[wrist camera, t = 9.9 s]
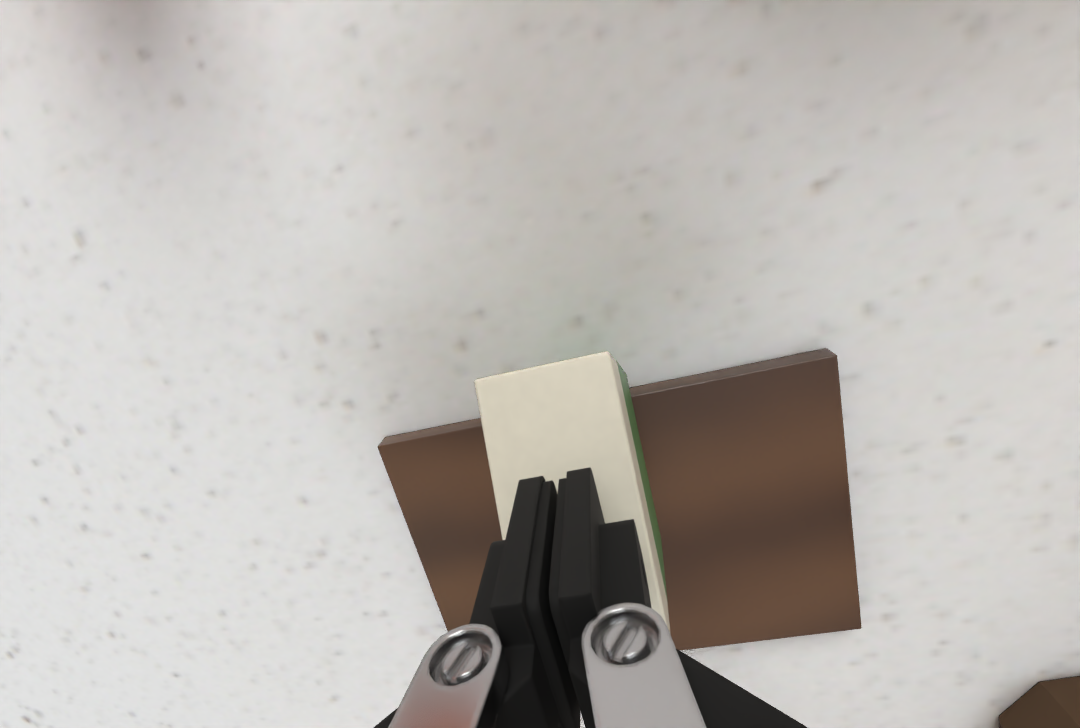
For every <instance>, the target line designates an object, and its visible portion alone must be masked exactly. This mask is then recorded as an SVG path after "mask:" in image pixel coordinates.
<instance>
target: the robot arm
mask: <svg viewBox="0 0 1080 728" xmlns="http://www.w3.org/2000/svg"><path fill="white" fill-rule="evenodd" d="M580 710H581V714H582V717H583V720H584V724H585V727H586V728H807V727H806V726H804V725H803V724H801V723H799V722H798V721H796V720H794V719H793V718H791V717H789V716H788V715H786V714H784V713H783V712H781V711H779V710H778V709H776V708H774V707H773V706H771V705H769V704H768V703H766V702H764V701H763V700H761V699H759V698H758V697H756V696H754V695H753V694H751V693H749V692H748V691H746V690H744V689H743V688H741V687H739V686H738V685H736V684H734V683H733V682H731V681H729V680H728V679H726V678H724V677H723V676H721V675H719V674H718V673H716V672H714V671H713V670H711V669H709V668H708V667H706V666H704V665H703V664H701V663H699V662H698V661H696V660H694V659H693V658H691V657H689V656H688V655H686V654H684V653H683V652H681V651H679V650H678V649H676V648H675V645H674V642H673V640H672V637H671V635H670V632H669V629H668V627H667V624H666V623H665V621H664V620H663V618H662V616H661V615H660V614H658V613H657V612H656V611H655V610H653V609H652V607H651V601H650V594H649V588H648V582H647V576H646V571H645V566H644V561H643V556H642V551H641V547H640V542H639V538H638V534H637V529H636V525H635V522H634V519H630V520H624V521H618V522H612V523H605V521H604V517H603V513H602V509H601V505H600V501H599V496H598V492H597V488H596V484H595V480H594V476H593V473H592V469H591V467H589V468H583V469H577V470H572V471H567V475H566V478H563V479H559V483H558V494H557V491H556V487H555V484H554V482H553V480H551V481H545V478H544V477H543V476H538V477H533V478H527V479H521V480H519V482H518V486H517V491H516V495H515V499H514V504H513V508H512V513H511V517H510V521H509V526H508V530H507V534H506V539H505V540H500V541H494V542H492V543H491V545H490V548H489V552H488V555H487V559H486V563H485V567H484V570H483V574H482V578H481V582H480V585H479V589H478V593H477V597H476V600H475V604H474V608H473V612H472V615H471V619H470V623H469V624H468V625H463V626H460V627H457V628H455V629H452V630H450V631H449V632H447V633H446V634H444V635H442V636H441V637H440V638H439V639H438V640H437V641H435V642H434V643H433V644H432V645H431V647H430V648H429V649H428V651H427V652H426V654H425V655H424V657H423V659H422V661H421V663H420V665H419V667H418V669H417V671H416V673H415V675H414V677H413V679H412V681H411V683H410V685H409V687H408V689H407V691H406V693H405V695H404V697H403V699H402V701H401V703H400V705H399V707H398V708H397V709H396V710H395V711H393V712H392V713H391V714H390V715H389V716H387V717H386V718H385V719H384V720H382V721H381V722H380V723H379V724H378V725H376V726H375V727H374V728H580Z"/></svg>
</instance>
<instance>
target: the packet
mask: <svg viewBox="0 0 1080 728" xmlns="http://www.w3.org/2000/svg"><path fill="white" fill-rule="evenodd" d="M475 389H476V394H477V400H478V405H479V411H480V416H481V422H482V428H483V433H484V439H485V444H486V450H487V456H488V461H489V467H490V472H491V478H492V483H493V489H494V495H495V500H496V506H497V511H498V517H499V522H500V528H501V534H502V539H503V540H505V539H506V534H507V530H508V526H509V521H510V517H511V513H512V508H513V504H514V499H515V495H516V491H517V486H518V482H519V480H521V479H527V478H533V477H538V476H543V477H544V478H545V481H551V480H553V482H554V484H555V487H556V491H557V494H558V483H559V479H563V478H566V475H567V471H572V470H577V469H583V468H589V467H591V469H592V473H593V476H594V480H595V484H596V488H597V492H598V496H599V501H600V505H601V509H602V513H603V517H604V521H605V523H612V522H618V521H624V520H630V519H634V522H635V525H636V529H637V534H638V538H639V542H640V547H641V551H642V556H643V561H644V566H645V571H646V576H647V582H648V588H649V594H650V601H651V607H652V609H653V610H655V611H656V612H657V613H658V614H660V615H661V616H662V618H663V620H664V621H665V623H666V624H667V627H668V629H669V632H670V624H669V614H668V604H667V592H666V582H665V572H664V561H663V551H662V541H661V535H660V531H659V526H658V521H657V517H656V512H655V507H654V502H653V498H652V493H651V488H650V484H649V479H648V474H647V469H646V465H645V460H644V455H643V451H642V446H641V441H640V436H639V432H638V427H637V422H636V417H635V413H634V408H633V403H632V399H631V394H630V389H629V384H628V380H627V375H626V373H625V372H624V371H623V369H622V368H621V366H620V365H619V364H618V362H617V361H616V360H615V359H614V358H613V357H612V355H611V354H610V353H609V352H608V351H605V352H600V353H595V354H591V355H586V356H581V357H577V358H572V359H567V360H563V361H558V362H553V363H549V364H544V365H539V366H535V367H530V368H525V369H521V370H516V371H511V372H507V373H502V374H498V375H493V376H488V377H484V378H479V379H476V380H475ZM670 635H671V634H670Z"/></svg>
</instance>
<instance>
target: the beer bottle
mask: <svg viewBox="0 0 1080 728" xmlns="http://www.w3.org/2000/svg"><path fill="white" fill-rule="evenodd" d="M999 722H1000V728H1080V676H1077V677H1070V678H1063V679H1056V680H1049V681H1042V682H1038V683H1037V684H1036V685H1035V686H1034V687H1033V688H1031V689H1030V690H1029V691H1028V692H1027V693H1025V694H1024V695H1023V696H1022V697H1021V698H1020V699H1018V700H1017V701H1016V702H1015V703H1014V704H1013V705H1011V706H1010V707H1009V708H1008V709H1007V710H1005V711H1004V712H1003V713H1002V714H1001V715H1000V716H999Z"/></svg>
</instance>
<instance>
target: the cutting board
mask: <svg viewBox="0 0 1080 728" xmlns="http://www.w3.org/2000/svg"><path fill="white" fill-rule="evenodd" d="M629 389H630V394H631V399H632V403H633V408H634V413H635V417H636V422H637V427H638V432H639V436H640V441H641V446H642V451H643V455H644V460H645V465H646V469H647V474H648V479H649V484H650V488H651V493H652V498H653V502H654V507H655V512H656V517H657V521H658V526H659V531H660V535H661V541H662V551H663V561H664V572H665V582H666V592H667V604H668V614H669V624H670V634H671V637H672V640H673V642H674V645H675V648H676V649H678V650H687V649H696V648H704V647H712V646H721V645H729V644H737V643H746V642H754V641H762V640H770V639H779V638H787V637H795V636H804V635H812V634H820V633H829V632H837V631H845V630H853V629H861V618H860V607H859V595H858V584H857V573H856V562H855V551H854V540H853V529H852V517H851V506H850V495H849V484H848V473H847V462H846V451H845V439H844V428H843V417H842V406H841V395H840V384H839V373H838V362H837V355H836V354H834V353H833V352H831V351H830V350H828V349H821V350H816V351H811V352H806V353H801V354H796V355H791V356H786V357H781V358H776V359H771V360H766V361H761V362H756V363H751V364H746V365H741V366H736V367H731V368H727V369H722V370H717V371H712V372H707V373H702V374H697V375H692V376H687V377H682V378H677V379H672V380H667V381H662V382H657V383H652V384H647V385H642V386H637V387H632V388H629ZM378 449H379V452H380V455H381V457H382V460H383V462H384V465H385V468H386V470H387V473H388V476H389V478H390V481H391V483H392V486H393V489H394V491H395V494H396V497H397V499H398V502H399V504H400V507H401V510H402V512H403V515H404V517H405V520H406V523H407V525H408V528H409V531H410V533H411V536H412V538H413V541H414V544H415V546H416V549H417V552H418V554H419V557H420V559H421V562H422V565H423V567H424V570H425V573H426V575H427V578H428V580H429V583H430V586H431V588H432V591H433V593H434V596H435V599H436V601H437V604H438V607H439V609H440V612H441V614H442V617H443V620H444V622H445V625H446V628H447V630H448V632H449V631H450V630H452V629H455V628H457V627H460V626H463V625H468V624H469V623H470V619H471V615H472V612H473V608H474V604H475V600H476V597H477V593H478V589H479V585H480V582H481V578H482V574H483V570H484V567H485V563H486V559H487V555H488V552H489V548H490V545H491V543H492V542H494V541H500V540H503V539H502V534H501V528H500V522H499V517H498V511H497V506H496V500H495V495H494V489H493V483H492V478H491V472H490V467H489V461H488V456H487V450H486V444H485V439H484V433H483V428H482V422H481V418H478V419H473V420H468V421H463V422H458V423H453V424H448V425H443V426H438V427H433V428H428V429H423V430H418V431H413V432H409V433H404V434H399V435H394V436H389V437H385V438H384V439H383V441H382V442H381V443H380V444H379V446H378Z"/></svg>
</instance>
